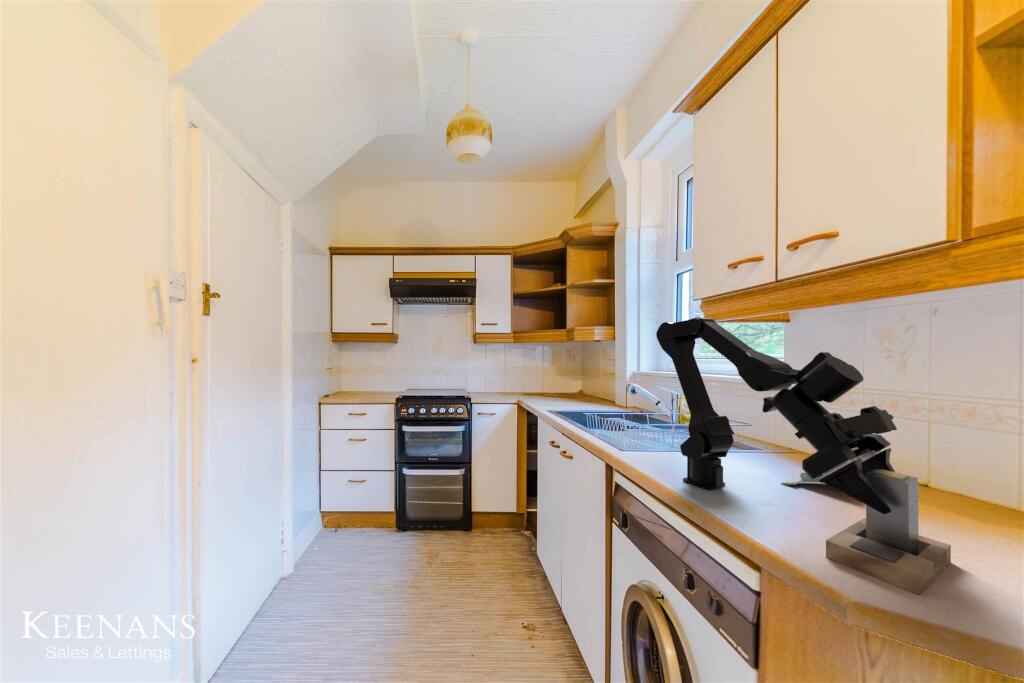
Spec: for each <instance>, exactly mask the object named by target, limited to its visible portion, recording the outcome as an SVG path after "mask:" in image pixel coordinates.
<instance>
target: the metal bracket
mask: <svg viewBox="0 0 1024 683" xmlns="http://www.w3.org/2000/svg"><path fill="white" fill-rule="evenodd" d="M825 476H826V475H825V474H824V473H823V475H822V476H820V477H818V478H815V479H813V480H812V479H811V478H810V477H809V476H808V475H807V473H806V472H801V473H800V476H798V477H794V478H791V479H788V480H785V481H782V482H780V484H781V485H788V486H789V485H790V486H792V485H794V486H795V485H799V484H805V485H806V484H811V485H826V484H825V483H821V482H820V481H819V480H820V479H822V478H824V477H825Z"/></svg>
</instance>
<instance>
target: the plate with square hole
mask: <svg viewBox="0 0 1024 683" xmlns="http://www.w3.org/2000/svg"><path fill="white" fill-rule="evenodd" d="M918 538H919V555H918V556H915V555H912V554H909V553H906V552H903V551H901V550H898V549H895V548H892V547H889V546H886V545H883V544H880V543H877V542H874V541H871V540H869V539H866V517H865V518H862V519H860V520H858V521H856V522H855V523H853V524H851V525H850V526H848V527H847V528H845V529H843V530H841V531H839V532H838V533H836V534H834V535H832V536H831V537H829V538H827V539H826V540H825V558H827V557H828V558H827V559H829V558H830V559H829V560H832V561H834V560H835V562H837V563H840V564H842V565H845V566H847V567H849V568H852V569H854V570H857V571H859V572H861V573H864V574H867V575H868V576H872V577H874V578H876V579H879V580H881V581H884V582H886V583H888V584H891V585H894V586H896V587H899V588H901V589H902V590H906V591H909V592H911V593H914V594H916V595H919V596H921V595H922V593H923V592H925V591H926V589H927V588H928V587H929V586H930V585H931V584H932V583H933V582H934V581H935V580H936V579H937V578H938V577H939V576H940V574H941V573H942V572H944V570H945V569H946V568H947V567H948V566H949V565H950V564H951V563H952V560H951V559H952V558H951V556H952V554H951V553H952V550H951V549H952V545H951V544H948V543H945V542H942V541H939V540H935V539H932V538H929V537H926V536H923V535H921V534H918Z"/></svg>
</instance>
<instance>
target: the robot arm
mask: <svg viewBox="0 0 1024 683" xmlns="http://www.w3.org/2000/svg"><path fill="white" fill-rule="evenodd" d="M655 335H656V339H657V341H658V343H659V345H660V347H661V350H662V351H663V352H664V353H666V355H668V356H669V358H671V360H672V363H673V366H674V369H675V372H676V375H677V378H678V380H679V384H680V387H681V390H682V393H683V396H684V399H685V402H686V405H687V407H688V410H689V414H690V418H689V422H688V426H687V428H688V435H689V437H688V438H687V439H686V440H685V441H684V442H682V444H680V446H679V448H680V452H681V455H682V456H684V457H686V459H687V462H686V463H687V464H686V466H687V467H686V471H687V472H686V477H684V478H682V481H683V482H686V483H687V484H691V485H694V486H697V487H699V488H702V489H704V490H708V491H710V490H713V489H717V488H720V487H724V486H726V482H724V467H723V465H722V458H727V455H728V453H729V450H730V449H731V448H732V446H733V444H734V442H735V441H734V436H733V435H735V432H734V431H733V429H732V427H731V425H730V420H729V418H728V417H727V415H719V414H718V413H717V412H716V410H715V409H714V407H713V404H712V402H711V400H710V396H709V393H708V391H707V388H706V385H705V383H704V379H703V377H702V374H701V372H700V368H699V366H698V363H697V360H696V358H695V355H694V350H695V346H696V340H697V339H702V340H703V342H705V343H707V345H709V346H710V347H711V348H713V349H714V350H715V351H717V353H719V354H721V356H723V357H724V358H725V359H726V360H728V361H729V362H730V363H731V364H733V366H735V368H736V370H737V373H738V375H739V377H740V378H741V379H742V380H743V381H744V383H745V384H746V385H747V386H748V387H749V388H750V389H752V390H753V391H756V392H777V393H776V394H774V396H766V397H763V404H762V405H763V406H762V412H763V413H766V414H767V413H770V412H774V411H777V412H778V413H780V414H781V416H783V418H784V419H785V420H786V421H787V422H788V423H789V424H790V425H791V426H792V427H793V428H794V429H795V430H796V432H795V433H794V435H795V436H796V437H797V438H798V439H799V440H801V439H804V440H806V441H807V442H808V443H809V445H810V446H811V447H812V448H813V449H814V450H816V451H815V452H814V453H812V454H811V455H809V456H808V457H806V458H804V459H802V462H801V464H802V465H801V468H802V470H803V471H804V473H807V475H808V476H809V477H810V478H811V479H812V480H813V479H815V478H818V477H820V476H822V475H823V473H824V474H825V475H826V476H825V477H824V478H822V479H820V480H819V481H820V482H821V483H825V484H824V485H828V486H829V487H832V488H833V489H835V490H838V491H839V492H841V493H843V494H845V495H847V496H849V497H851V498H853V499H855V500H857V501H858V502H861V503H862V504H865V506H866V505H868V506H869V507H871V508H873V509H875V510H877V511H879V512H880V513H882V514H887V513H890V512H891V509H890V507H889V506H888V505H887V503H886V502H885V501H884V499H883V498H882V497H881V496H880V495H879V493H878V492H877V491H876V490H875V488H874V487H873V486H872V485H871V484H870V482H869V481H868V480H867V479H866V473H869V472H871V471H873V470H876V469H879V470H881V469H882V470H887V471H892V472H896V471H895V469H894V468H893V466H892V465H891V463H890V458H891V452H892V448H891V447H890V446H891V445H892V444H891V443H890V441H888V440H887V439H886V438H885V437H883V436H882V435H881V434H884V433H885V434H886V433H890V432H892V431H896V430H898V428H897V427H896V424H895V423H894V421H893V419H894V416H893V415H892V414H890V413H888V411H887V410H886V409H883V410H882V409H880V408H879V407H878V406H876V405H873V406H868V407H863V408H860V413H859V415H855V416H851V417H846V418H845V417H843V415H841V414H840V413H838V412H832V413H831V412H830V411H829V410H828V409H826V407H824V406H823V405H822V404H821V402H824V403H825V402H826V403H829V404H830V403H831V404H832V403H834V402H835V401H837V400H838V399H839V398H842V396H844V395H846V393H847V392H849V391H851V390H852V389H854V388H855V387H856V386H858V385H859V384H860V383H862V382H864V376H863V375H862V373H861V372H860V371H859V369H857V368H856V367H855V366H854V365H853V364H849V363H848V362H846V361H845V360H842V359H841V358H838V357H836V356H833V354H831V353H830V352H829V351H828V352H827V351H826V352H825V351H823V352H819V353H817V355H815V356H814V357H813V359H811V361H809V363H807V364H806V365H805V366H804V367H803V368H802V369H795V368H793V367H792V366H791V365H790V364H788V363H787V362H785V361H782V360H780V359H778V358H776V357H774V356H771V355H768V354H766V353H763V352H760V351H757V350H755V349H753V347H751V346H749V345H748V344H746V343H745V342H743V341H742V340H741V339H740V338H738V337H736V336H735V335H734V334H733V333H731V332H729V331H728V330H727V329H725V328H724V327H722V326H721V325H719V323H717V322H716V321H715V320H714V319H713V318H711V317H700V316H699V317H698V316H696V317H694V318H690V319H686V320H681V321H676V322H669V321H665V322H662V323H661V324H660V325H659V326H658V329H657V330H656V333H655ZM792 385H793V387H791V386H792ZM790 387H791V388H790ZM888 447H889V448H888Z"/></svg>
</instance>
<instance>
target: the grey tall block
mask: <svg viewBox="0 0 1024 683" xmlns="http://www.w3.org/2000/svg"><path fill="white" fill-rule="evenodd" d="M866 479H867V480H868V481H869V482H870V484H871V485H872V486H873V487H874V488H875V490H876V491H877V492H878V493H879V495H880V496H881V497H882V498H883V499H884V501H885V502H886V503H887V505H888V506H889V507H890V509H891V512H890V513H887V514H882V513H880V512H879V511H877V510H875V509H873V508H871V507H869V506H868V505H866V504H865V519H866V539H869V540H871V541H874V542H877V543H880V544H883V545H886V546H889V547H892V548H895V549H898V550H901V551H903V552H906V553H909V554H912V555H915V556H918V555H919V538H918V535H919V477H916V476H910V475H909V474H906V473H905V474H904V473H900V472H896V471H895V472H892V471H887V470H882V469H881V470H879V469H876V470H873V471H871V472H869V473H866Z"/></svg>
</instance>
